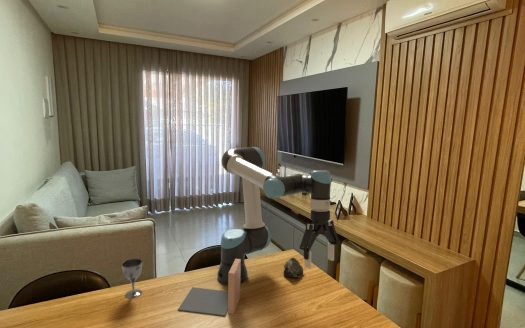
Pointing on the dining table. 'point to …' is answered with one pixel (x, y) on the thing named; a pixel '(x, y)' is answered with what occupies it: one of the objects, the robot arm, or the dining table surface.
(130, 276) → the wine glass
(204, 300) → the mat
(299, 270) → the fossil
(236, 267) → the tile
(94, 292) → the dining table surface
